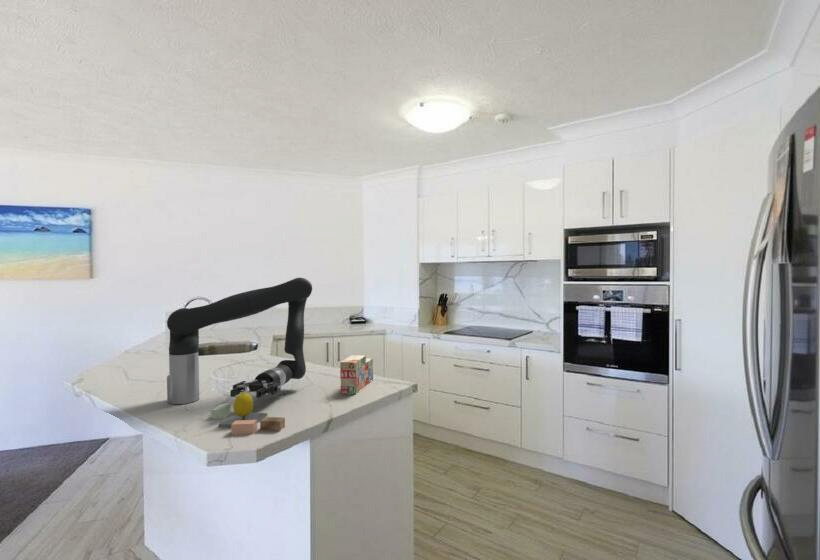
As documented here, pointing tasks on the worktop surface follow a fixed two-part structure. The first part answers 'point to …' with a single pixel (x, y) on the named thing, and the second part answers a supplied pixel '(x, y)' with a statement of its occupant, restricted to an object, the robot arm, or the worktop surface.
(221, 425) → the coaster
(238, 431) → the brick terracotta
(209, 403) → the worktop surface
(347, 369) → the stack of blocks
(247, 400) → the lemon
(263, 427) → the brick walnut
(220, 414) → the brick sage
